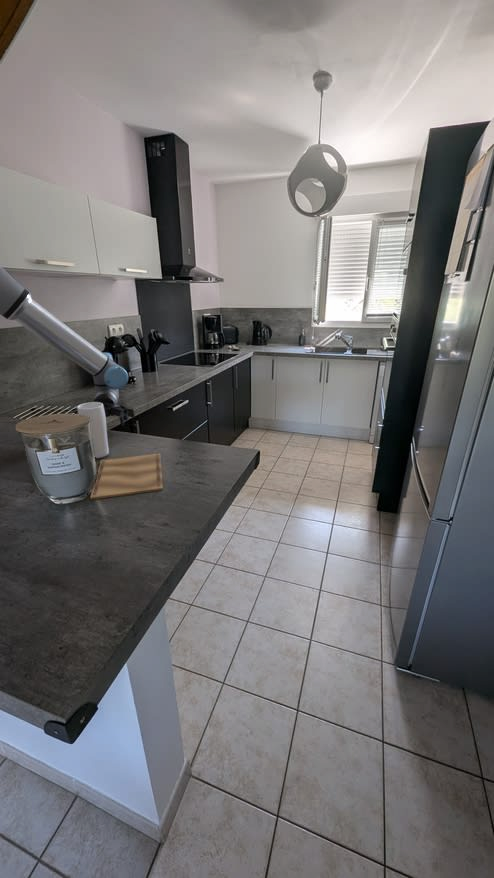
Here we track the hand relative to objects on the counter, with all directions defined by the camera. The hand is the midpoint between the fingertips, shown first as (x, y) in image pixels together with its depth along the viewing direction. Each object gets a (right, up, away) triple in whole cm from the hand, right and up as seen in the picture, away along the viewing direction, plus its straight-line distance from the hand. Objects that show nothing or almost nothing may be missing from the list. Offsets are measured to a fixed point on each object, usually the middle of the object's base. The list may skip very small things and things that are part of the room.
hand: (97, 424), depth 104 cm
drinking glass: (+1, -9, -1) cm, 9 cm away
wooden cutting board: (+14, -14, -13) cm, 23 cm away
